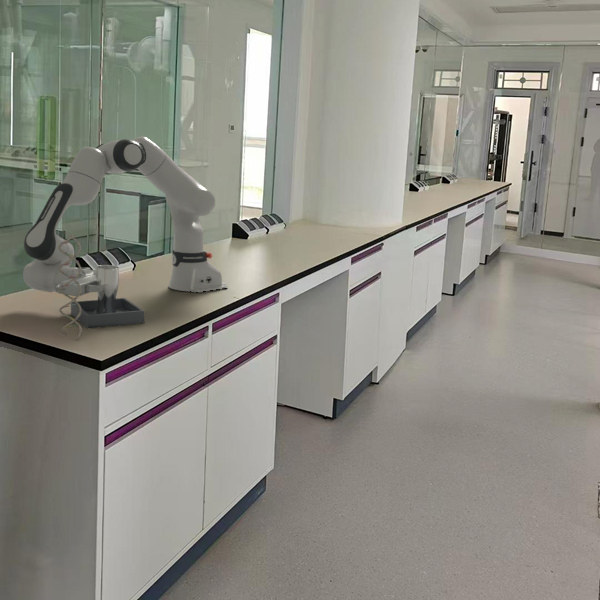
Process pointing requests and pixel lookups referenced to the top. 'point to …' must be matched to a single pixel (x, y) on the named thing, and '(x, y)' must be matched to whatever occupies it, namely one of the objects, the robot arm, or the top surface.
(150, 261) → the top surface
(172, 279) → the robot arm
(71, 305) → the dna model
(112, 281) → the beer glass
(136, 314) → the box
